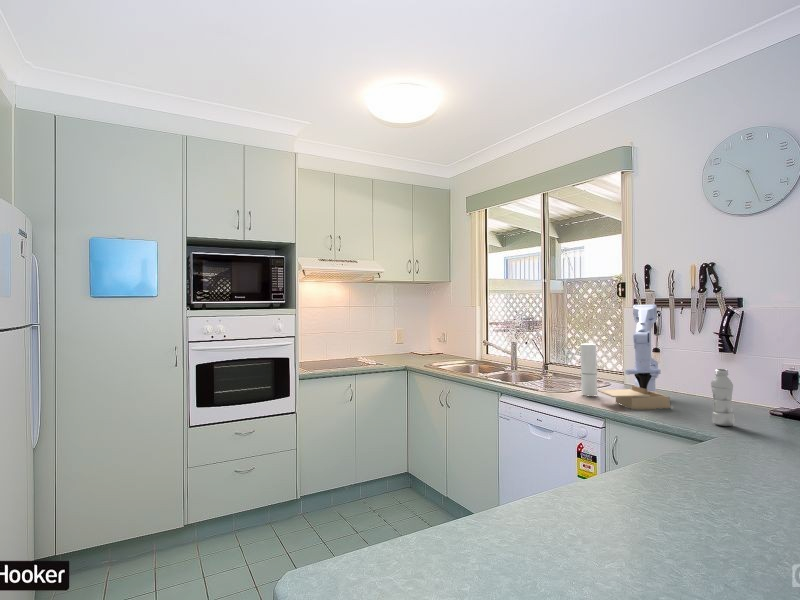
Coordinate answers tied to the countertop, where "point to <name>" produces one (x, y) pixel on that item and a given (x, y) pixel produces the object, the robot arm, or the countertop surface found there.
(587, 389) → the cylindrical container
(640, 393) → the lid
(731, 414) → the plastic bottle
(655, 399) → the mailer box
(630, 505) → the countertop surface
